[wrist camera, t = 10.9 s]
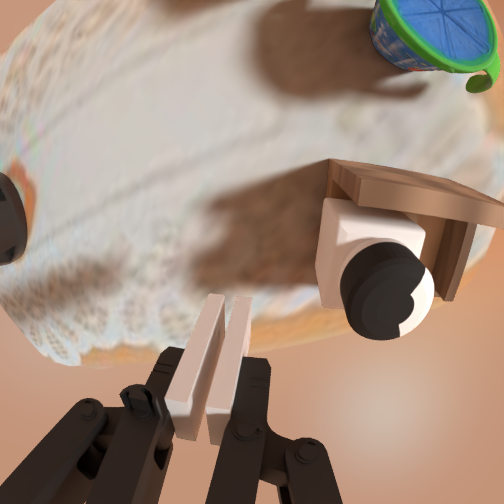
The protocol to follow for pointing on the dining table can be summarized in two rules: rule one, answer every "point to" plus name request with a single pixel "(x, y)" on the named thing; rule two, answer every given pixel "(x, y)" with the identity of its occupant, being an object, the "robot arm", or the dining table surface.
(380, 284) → the medicine bottle
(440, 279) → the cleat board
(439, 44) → the snack cup
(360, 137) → the dining table surface
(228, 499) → the robot arm
